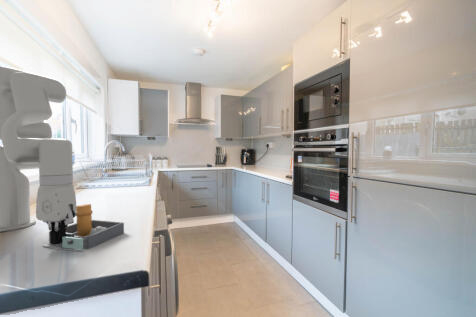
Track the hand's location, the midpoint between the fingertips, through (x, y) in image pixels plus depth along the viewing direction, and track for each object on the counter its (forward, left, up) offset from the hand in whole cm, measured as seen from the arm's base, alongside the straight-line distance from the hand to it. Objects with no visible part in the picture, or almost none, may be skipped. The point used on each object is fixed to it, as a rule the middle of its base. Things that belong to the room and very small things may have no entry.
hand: (58, 242), depth 63 cm
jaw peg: (0, +8, -1) cm, 8 cm away
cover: (+5, 0, -1) cm, 6 cm away
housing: (+1, +7, -2) cm, 8 cm away
